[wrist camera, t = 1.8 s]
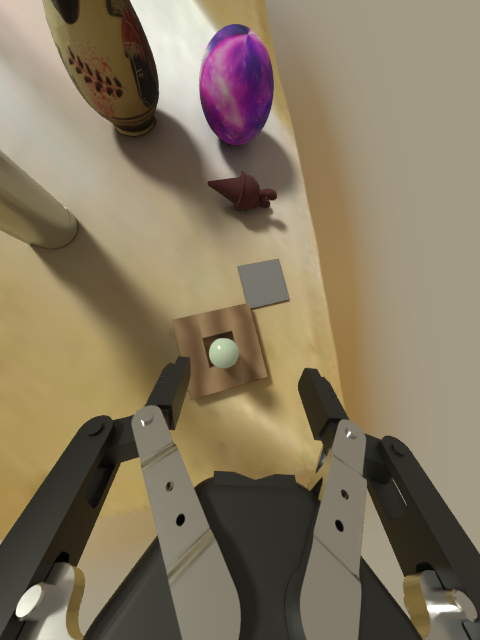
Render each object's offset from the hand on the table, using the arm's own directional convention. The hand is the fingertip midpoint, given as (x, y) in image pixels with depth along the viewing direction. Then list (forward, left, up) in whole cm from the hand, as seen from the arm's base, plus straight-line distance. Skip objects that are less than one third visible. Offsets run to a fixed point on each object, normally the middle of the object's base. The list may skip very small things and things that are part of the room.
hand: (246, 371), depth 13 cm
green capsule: (-1, 0, -26) cm, 26 cm away
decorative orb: (+14, +50, -27) cm, 59 cm away
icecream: (+12, +32, -27) cm, 44 cm away
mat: (+12, +12, -27) cm, 32 cm away
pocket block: (-1, 0, -27) cm, 27 cm away
